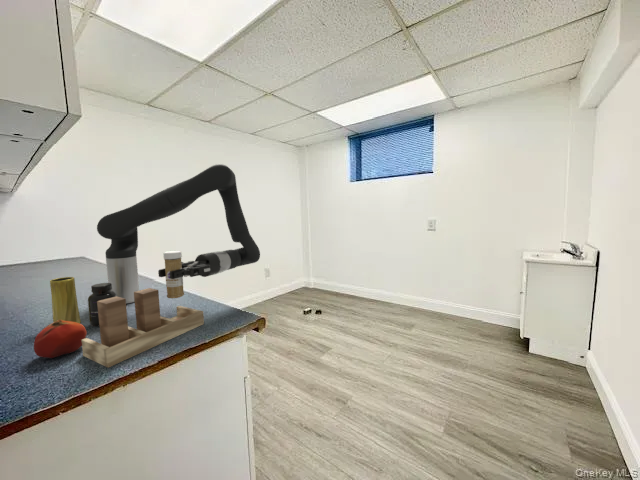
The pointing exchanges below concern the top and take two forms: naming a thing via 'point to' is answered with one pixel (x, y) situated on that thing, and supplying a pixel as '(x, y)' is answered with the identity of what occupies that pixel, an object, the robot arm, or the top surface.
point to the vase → (64, 300)
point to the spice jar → (173, 264)
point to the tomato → (59, 339)
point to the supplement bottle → (99, 293)
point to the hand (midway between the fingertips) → (165, 274)
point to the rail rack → (150, 327)
